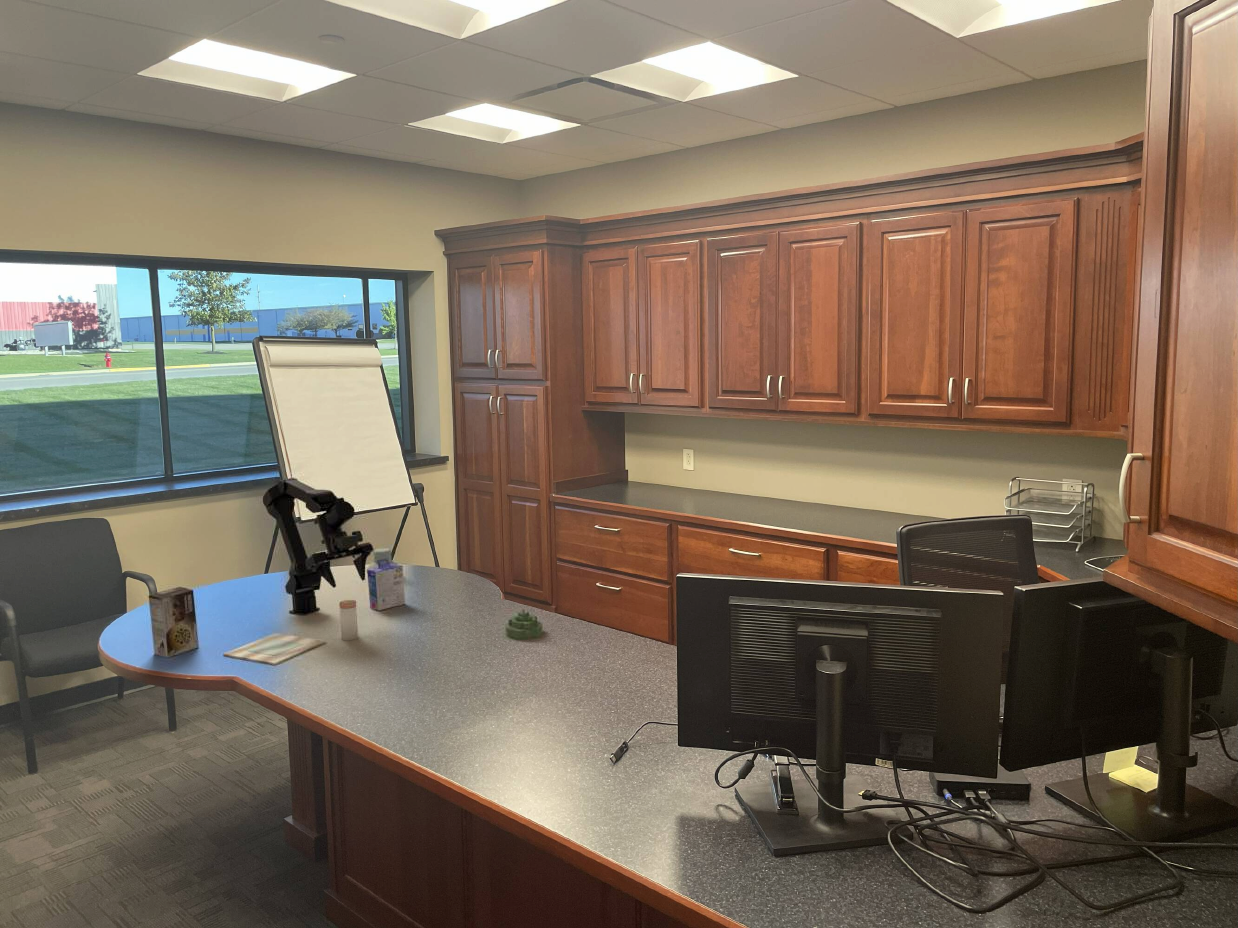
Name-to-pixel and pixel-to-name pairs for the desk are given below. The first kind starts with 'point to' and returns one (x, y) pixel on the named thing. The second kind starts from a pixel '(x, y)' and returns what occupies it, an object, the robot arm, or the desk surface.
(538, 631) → the decorative artifact
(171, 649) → the brown food box
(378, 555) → the air freshener
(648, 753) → the desk surface
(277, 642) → the board
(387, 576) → the ink cartridge box
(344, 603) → the tube
